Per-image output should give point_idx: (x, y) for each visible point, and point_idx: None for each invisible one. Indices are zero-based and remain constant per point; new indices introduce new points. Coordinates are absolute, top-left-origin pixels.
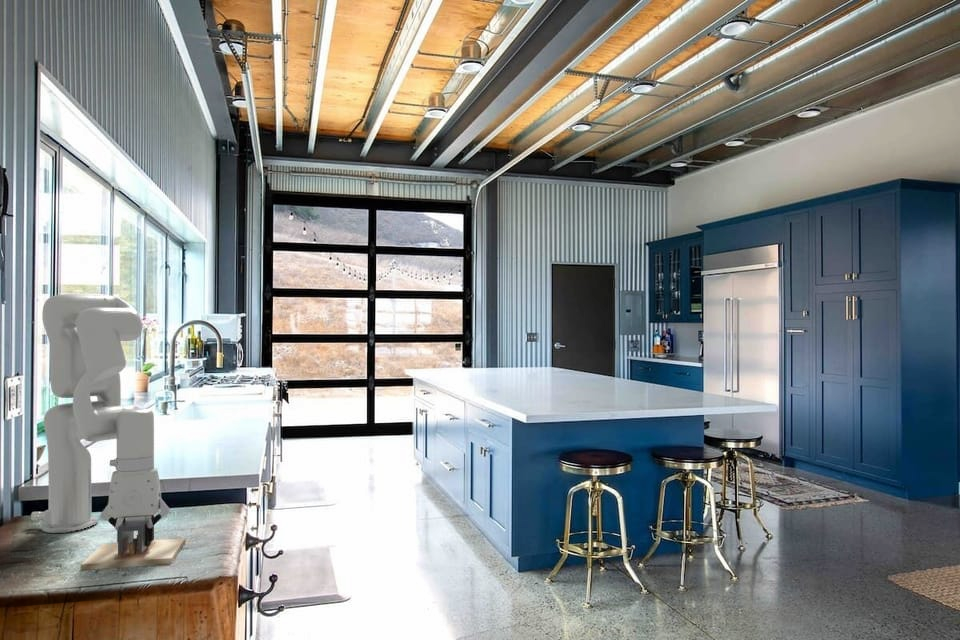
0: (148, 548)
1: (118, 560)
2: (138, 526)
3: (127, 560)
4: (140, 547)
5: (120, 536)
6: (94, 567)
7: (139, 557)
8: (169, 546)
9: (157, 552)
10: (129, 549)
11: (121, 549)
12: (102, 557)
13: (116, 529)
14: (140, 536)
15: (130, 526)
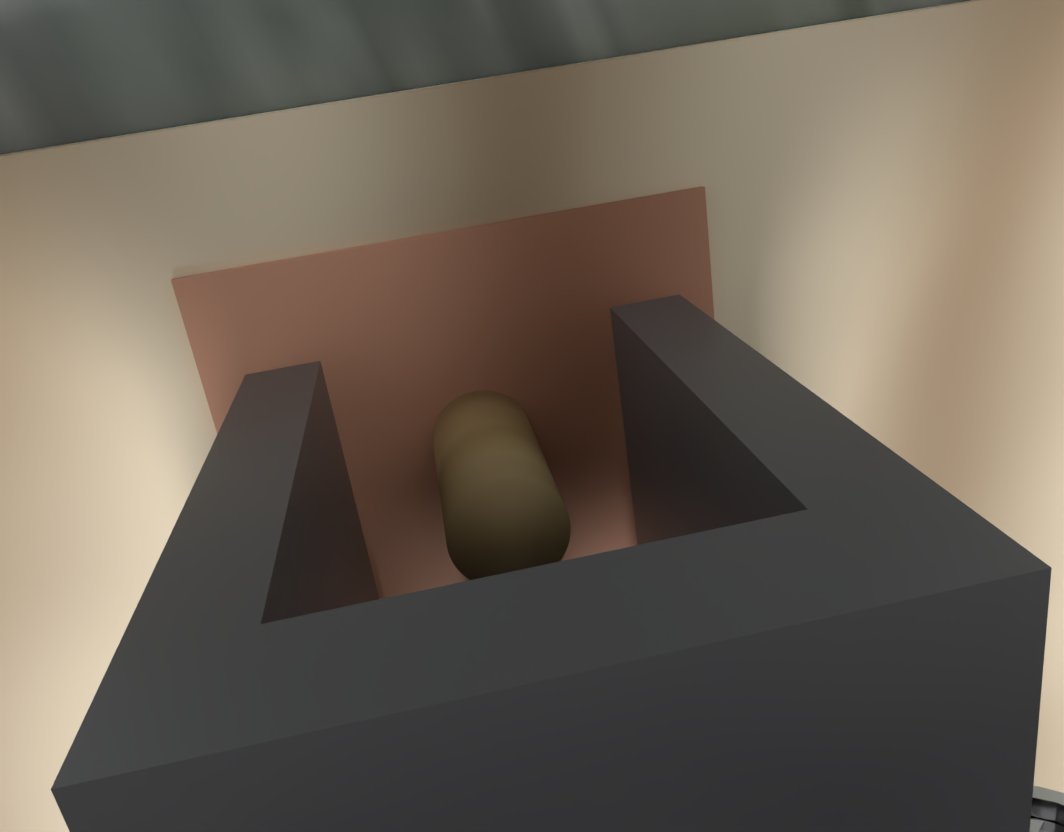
0: None
1: (599, 148)
2: (199, 738)
3: (424, 138)
4: (253, 410)
5: (783, 437)
6: (933, 6)
7: (251, 273)
8: (40, 828)
9: (69, 557)
10: (523, 436)
11: (645, 330)
12: (932, 322)
13: (1047, 796)
14: (204, 531)
15: (559, 694)
